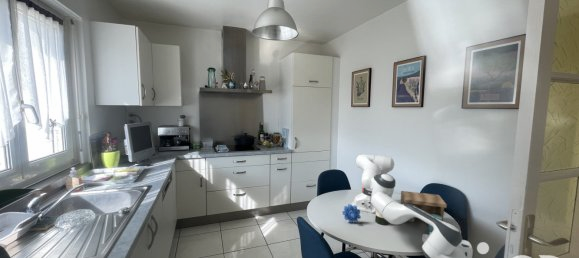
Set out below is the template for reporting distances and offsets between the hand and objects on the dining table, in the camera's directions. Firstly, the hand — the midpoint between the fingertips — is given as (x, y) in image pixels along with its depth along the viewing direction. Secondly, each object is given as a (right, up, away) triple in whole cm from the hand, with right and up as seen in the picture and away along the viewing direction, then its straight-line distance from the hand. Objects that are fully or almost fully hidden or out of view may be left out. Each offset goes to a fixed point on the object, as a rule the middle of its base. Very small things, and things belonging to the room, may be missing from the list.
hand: (441, 235), depth 122 cm
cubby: (+4, -4, +26) cm, 26 cm away
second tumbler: (-1, -3, +30) cm, 31 cm away
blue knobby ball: (-41, -4, +24) cm, 47 cm away
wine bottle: (-21, -4, +26) cm, 34 cm away
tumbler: (+4, -5, +12) cm, 14 cm away
